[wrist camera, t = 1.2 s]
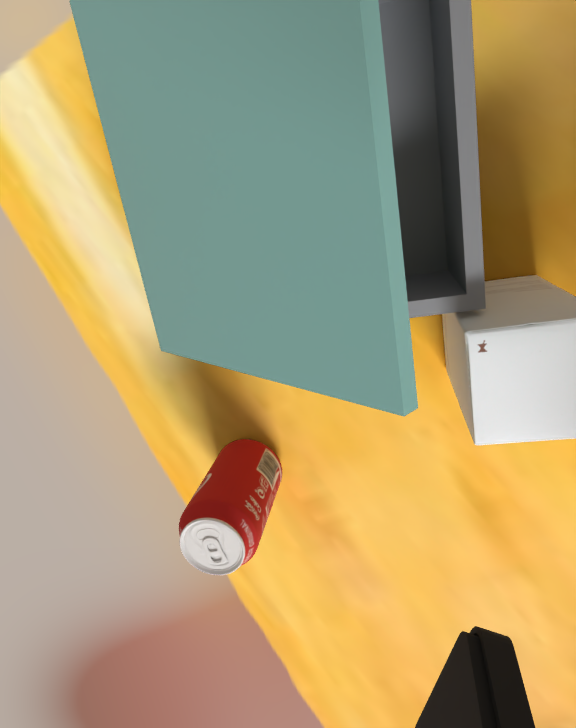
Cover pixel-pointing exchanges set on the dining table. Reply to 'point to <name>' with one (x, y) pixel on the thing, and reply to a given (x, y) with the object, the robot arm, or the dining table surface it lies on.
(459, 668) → the robot arm
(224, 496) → the beverage can
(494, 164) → the dining table surface
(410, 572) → the dining table surface
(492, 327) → the supplement box
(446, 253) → the box
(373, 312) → the lid
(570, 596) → the dining table surface
